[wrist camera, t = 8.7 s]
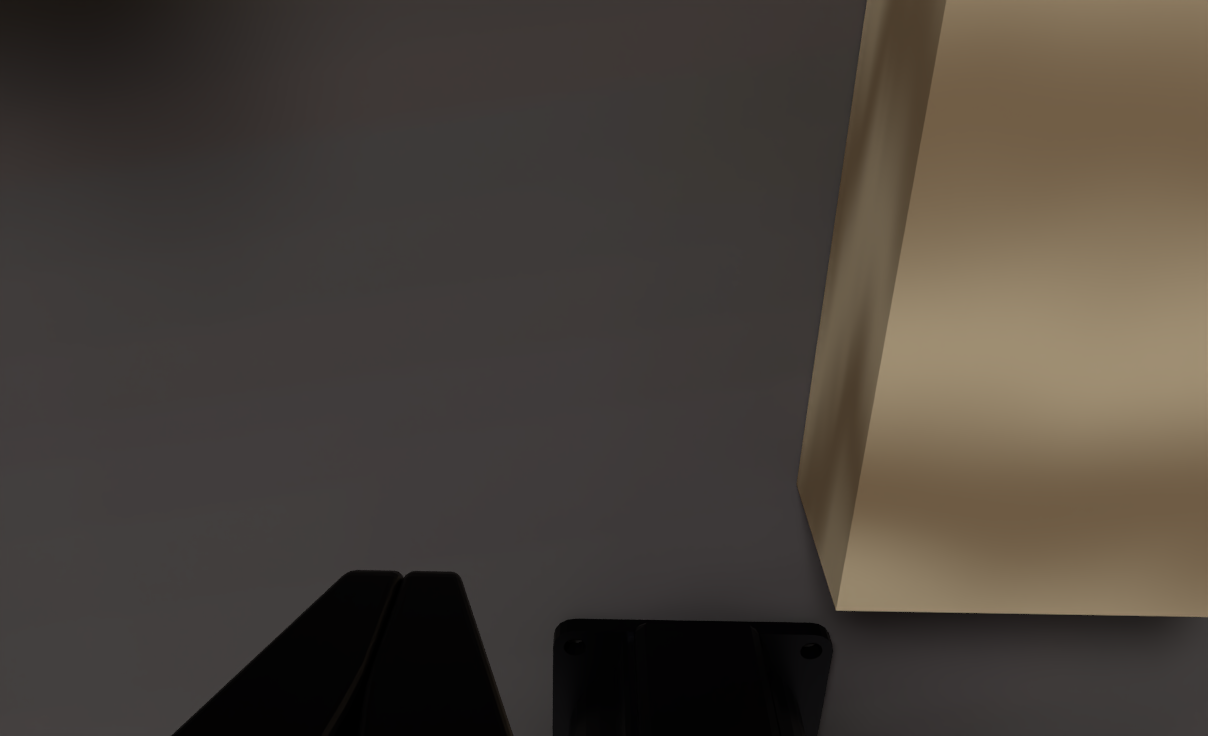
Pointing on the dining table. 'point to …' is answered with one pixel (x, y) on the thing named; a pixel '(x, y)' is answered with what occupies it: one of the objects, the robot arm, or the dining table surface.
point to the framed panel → (1018, 314)
